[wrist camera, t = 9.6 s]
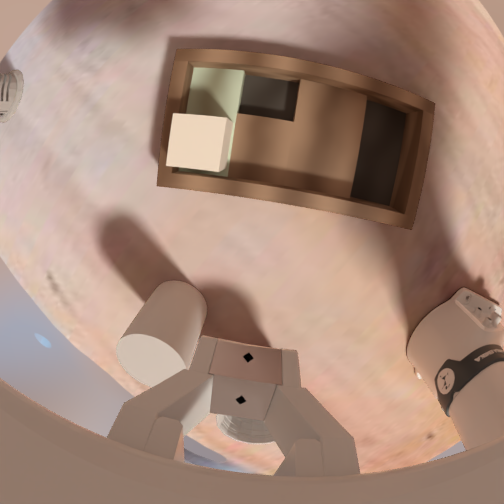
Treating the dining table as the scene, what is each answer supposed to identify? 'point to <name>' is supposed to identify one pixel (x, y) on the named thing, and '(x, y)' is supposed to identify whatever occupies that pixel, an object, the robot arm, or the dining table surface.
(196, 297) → the beige cylinder
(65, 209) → the dining table surface
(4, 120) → the french press
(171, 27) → the dining table surface
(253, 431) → the plastic cup
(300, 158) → the box
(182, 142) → the block
